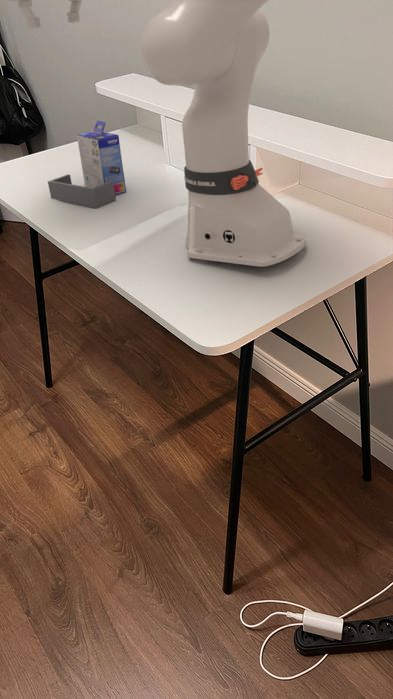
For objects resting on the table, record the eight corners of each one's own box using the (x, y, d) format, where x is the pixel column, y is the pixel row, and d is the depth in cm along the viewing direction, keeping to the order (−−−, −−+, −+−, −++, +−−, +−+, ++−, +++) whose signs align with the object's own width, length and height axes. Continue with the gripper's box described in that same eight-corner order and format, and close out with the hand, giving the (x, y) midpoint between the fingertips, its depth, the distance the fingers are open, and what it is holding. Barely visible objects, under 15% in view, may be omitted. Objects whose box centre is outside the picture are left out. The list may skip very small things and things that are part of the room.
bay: (115, 200, 131) (112, 181, 129) (95, 208, 127) (92, 189, 125) (71, 192, 140) (67, 174, 137) (51, 199, 136) (47, 181, 134)
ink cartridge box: (128, 191, 136) (118, 122, 128) (106, 198, 133) (94, 128, 126) (106, 184, 143) (94, 118, 135) (85, 190, 140) (72, 123, 133)
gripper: (0, -64, 100) (20, 32, 107) (94, -67, 113) (105, 18, 120) (-22, -60, 104) (-2, 32, 111) (71, -64, 117) (84, 19, 124)
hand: (55, 25), depth 116 cm, fingers open, 8 cm apart
